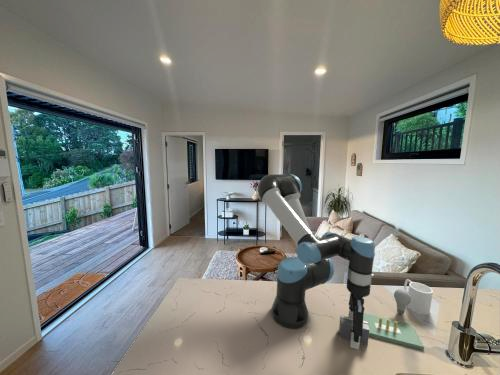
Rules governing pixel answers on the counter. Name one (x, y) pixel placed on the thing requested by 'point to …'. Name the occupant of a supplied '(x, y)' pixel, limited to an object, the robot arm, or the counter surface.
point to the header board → (393, 331)
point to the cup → (419, 297)
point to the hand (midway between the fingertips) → (352, 336)
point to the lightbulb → (402, 300)
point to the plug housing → (347, 324)
